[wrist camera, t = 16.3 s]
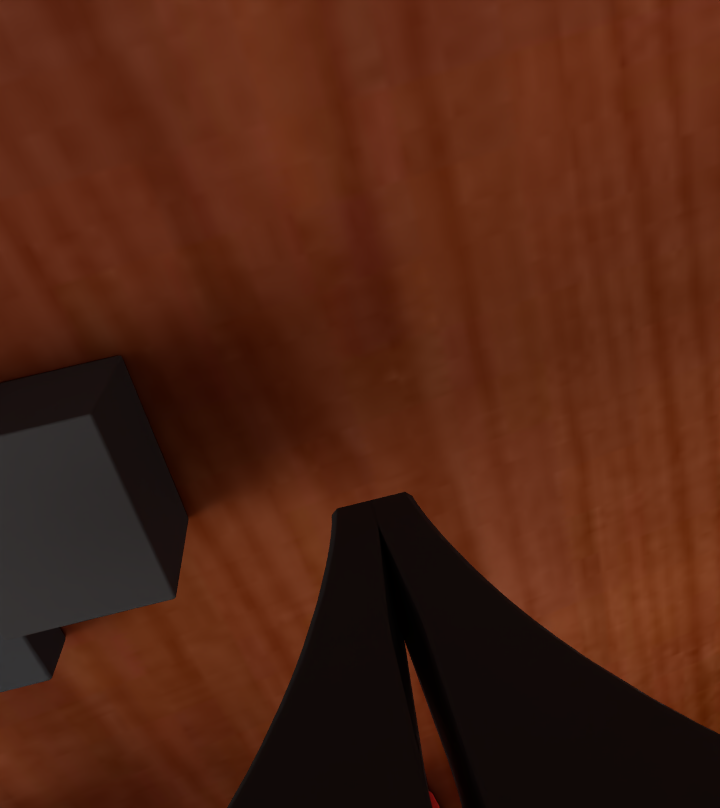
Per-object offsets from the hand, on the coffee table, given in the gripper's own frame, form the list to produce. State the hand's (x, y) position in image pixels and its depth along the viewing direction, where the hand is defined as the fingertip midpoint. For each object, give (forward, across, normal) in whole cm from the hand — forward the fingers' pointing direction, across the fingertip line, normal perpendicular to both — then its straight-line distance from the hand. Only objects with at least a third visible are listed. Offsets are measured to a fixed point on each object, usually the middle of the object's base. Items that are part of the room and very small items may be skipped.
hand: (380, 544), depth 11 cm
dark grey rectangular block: (+6, +7, 0) cm, 9 cm away
